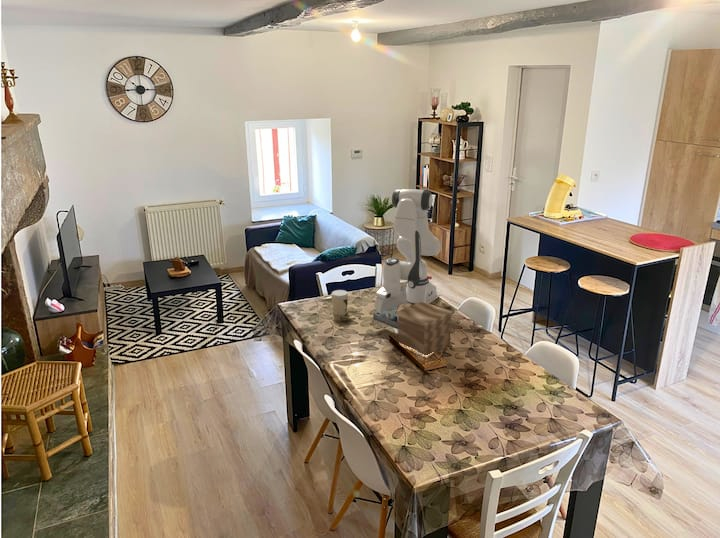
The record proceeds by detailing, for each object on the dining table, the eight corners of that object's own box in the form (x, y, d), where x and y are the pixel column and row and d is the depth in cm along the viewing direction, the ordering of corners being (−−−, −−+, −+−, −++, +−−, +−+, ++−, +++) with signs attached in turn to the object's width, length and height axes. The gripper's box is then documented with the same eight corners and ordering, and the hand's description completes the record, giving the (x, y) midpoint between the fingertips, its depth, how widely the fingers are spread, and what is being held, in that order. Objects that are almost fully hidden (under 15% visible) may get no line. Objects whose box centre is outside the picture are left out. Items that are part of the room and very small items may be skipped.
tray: (382, 315, 293) (382, 301, 290) (410, 326, 279) (410, 312, 276) (373, 319, 288) (373, 304, 286) (401, 330, 275) (401, 316, 272)
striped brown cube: (421, 333, 283) (421, 301, 277) (450, 345, 270) (452, 312, 264) (395, 345, 271) (396, 312, 265) (425, 358, 258) (426, 324, 252)
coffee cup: (348, 315, 305) (347, 295, 301) (331, 316, 305) (330, 296, 301) (348, 309, 313) (348, 289, 309) (332, 309, 314) (331, 289, 310)
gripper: (401, 283, 287) (400, 307, 291) (373, 293, 273) (373, 319, 278) (410, 286, 282) (409, 311, 287) (382, 297, 269) (382, 323, 274)
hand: (391, 315), depth 282 cm, fingers closed on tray, 4 cm apart
